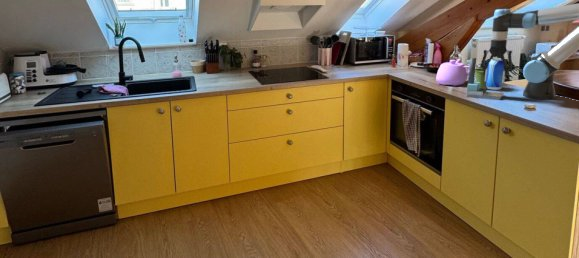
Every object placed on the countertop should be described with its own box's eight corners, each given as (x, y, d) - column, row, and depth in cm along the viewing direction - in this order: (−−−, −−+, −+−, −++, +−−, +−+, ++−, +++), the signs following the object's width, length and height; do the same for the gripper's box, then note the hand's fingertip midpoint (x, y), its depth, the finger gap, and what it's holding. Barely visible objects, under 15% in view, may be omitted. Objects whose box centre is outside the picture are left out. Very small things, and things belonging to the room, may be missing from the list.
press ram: (479, 91, 242) (482, 57, 237) (476, 94, 236) (479, 59, 230) (468, 90, 245) (471, 57, 240) (465, 93, 239) (468, 59, 233)
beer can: (495, 90, 229) (499, 60, 224) (482, 88, 236) (485, 59, 231) (505, 88, 233) (509, 59, 228) (492, 86, 240) (495, 57, 235)
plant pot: (470, 86, 263) (471, 68, 259) (490, 86, 261) (492, 67, 258) (475, 90, 252) (476, 71, 248) (496, 90, 250) (498, 71, 246)
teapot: (467, 88, 258) (469, 63, 253) (432, 85, 270) (434, 61, 266) (477, 81, 275) (479, 58, 270) (444, 78, 287) (446, 56, 283)
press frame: (503, 95, 237) (504, 89, 236) (500, 99, 229) (500, 93, 228) (471, 92, 247) (471, 86, 245) (466, 96, 238) (467, 90, 237)
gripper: (522, 39, 223) (516, 81, 230) (479, 38, 235) (475, 78, 241) (520, 40, 217) (514, 84, 224) (476, 39, 229) (472, 81, 236)
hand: (494, 81), depth 233 cm, fingers closed on beer can, 8 cm apart
